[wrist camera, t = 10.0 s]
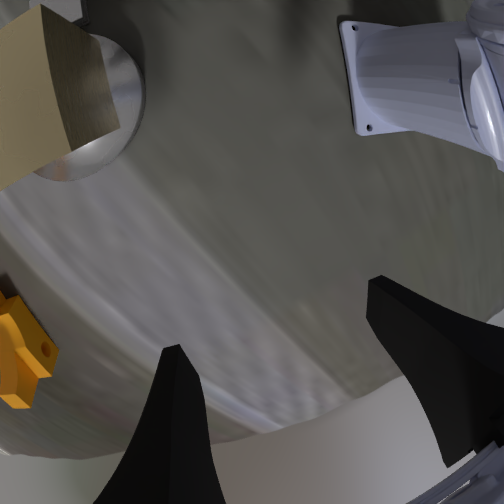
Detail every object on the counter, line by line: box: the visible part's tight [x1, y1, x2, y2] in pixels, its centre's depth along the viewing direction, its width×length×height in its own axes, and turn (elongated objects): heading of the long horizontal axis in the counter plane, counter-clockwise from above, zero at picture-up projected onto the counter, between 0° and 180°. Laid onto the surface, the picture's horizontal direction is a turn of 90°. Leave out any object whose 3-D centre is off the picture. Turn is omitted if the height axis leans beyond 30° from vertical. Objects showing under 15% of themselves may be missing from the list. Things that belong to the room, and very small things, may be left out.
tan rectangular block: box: [0, 3, 121, 191], centre depth 8 cm, size 5×5×7 cm
